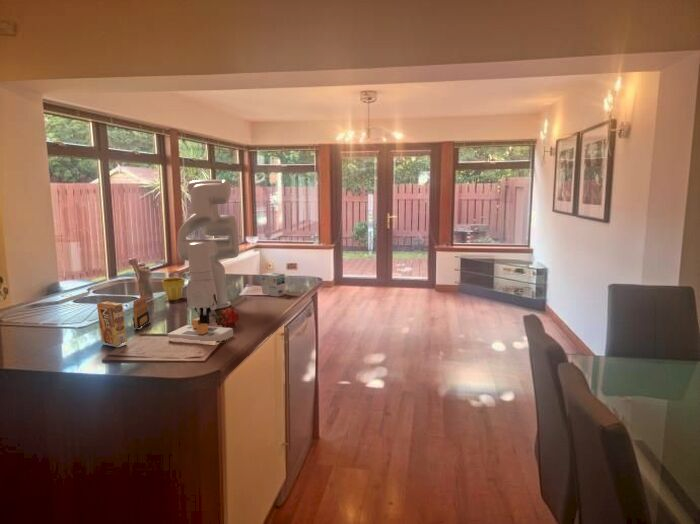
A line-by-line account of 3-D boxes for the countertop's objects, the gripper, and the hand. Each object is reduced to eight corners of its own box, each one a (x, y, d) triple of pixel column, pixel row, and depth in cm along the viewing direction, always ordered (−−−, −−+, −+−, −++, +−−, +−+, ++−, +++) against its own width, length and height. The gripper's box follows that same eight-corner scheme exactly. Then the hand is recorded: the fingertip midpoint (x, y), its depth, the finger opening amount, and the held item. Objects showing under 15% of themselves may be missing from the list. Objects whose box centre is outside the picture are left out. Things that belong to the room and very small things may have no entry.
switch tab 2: (197, 333, 169) (196, 325, 169) (202, 331, 172) (201, 323, 172) (203, 334, 169) (202, 326, 168) (208, 331, 171) (207, 323, 171)
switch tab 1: (192, 327, 177) (192, 320, 176) (197, 325, 180) (197, 317, 179) (198, 328, 176) (197, 320, 176) (203, 326, 179) (202, 318, 178)
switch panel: (168, 341, 172) (167, 333, 172) (187, 332, 183) (186, 324, 182) (216, 345, 166) (215, 337, 166) (233, 336, 177) (232, 327, 176)
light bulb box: (286, 294, 243) (285, 273, 241) (277, 297, 238) (276, 275, 236) (270, 292, 249) (269, 271, 247) (261, 294, 243) (260, 274, 241)
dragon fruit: (218, 336, 183) (233, 331, 194) (235, 323, 181) (248, 319, 193) (206, 317, 184) (221, 313, 195) (222, 305, 182) (237, 301, 194)
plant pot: (181, 300, 236) (179, 281, 235) (160, 301, 236) (158, 281, 235) (188, 295, 246) (186, 277, 245) (168, 296, 247) (166, 277, 245)
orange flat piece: (138, 330, 188) (135, 300, 186) (134, 330, 188) (130, 300, 186) (149, 322, 199) (147, 294, 197) (145, 322, 199) (142, 294, 197)
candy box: (127, 345, 170) (123, 303, 168) (117, 348, 167) (112, 306, 164) (111, 341, 175) (107, 300, 172) (101, 345, 171) (96, 303, 168)
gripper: (176, 277, 173) (181, 326, 175) (212, 278, 168) (216, 328, 171) (189, 273, 180) (193, 320, 183) (224, 274, 175) (228, 323, 178)
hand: (204, 324), depth 177 cm, fingers closed
